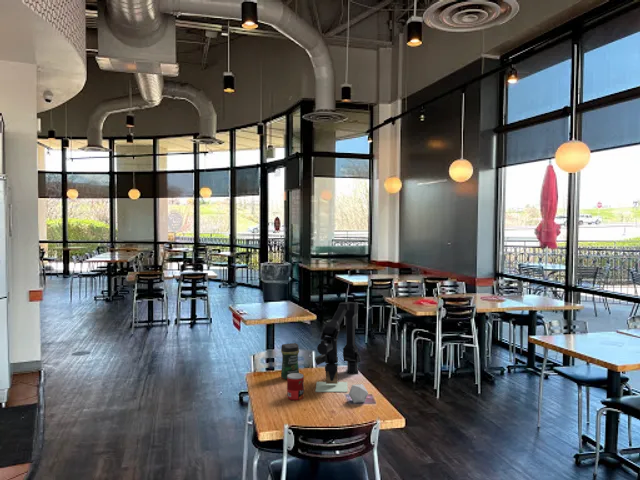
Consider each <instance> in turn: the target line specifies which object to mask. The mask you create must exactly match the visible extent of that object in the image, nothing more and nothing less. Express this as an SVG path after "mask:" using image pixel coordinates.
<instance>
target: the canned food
mask: <svg viewBox="0 0 640 480" xmlns="http://www.w3.org/2000/svg"><path fill="white" fill-rule="evenodd" d="M304 376H305V375H304V374H303V373H300V372H299V373H291V374H288V375H287V379H286V380H287V381H286V383H287V384H286V385H287V386H286V387H287V390H286V391H287V392H286V393H287V396H286V397H287V399H288V400H290V401H294V402H295V401H296V402H297V401H301V400H303V399H304V396H305V394H304V393H305V387H304V386H305V381H304V380H305V379H304V378H305V377H304Z"/></svg>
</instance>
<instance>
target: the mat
mask: <svg viewBox="0 0 640 480" xmlns="http://www.w3.org/2000/svg"><path fill="white" fill-rule="evenodd" d="M348 388H349V387H348V381H338V384H326V381H316V386H315V391H314V392H315V393H349V392H348Z"/></svg>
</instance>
